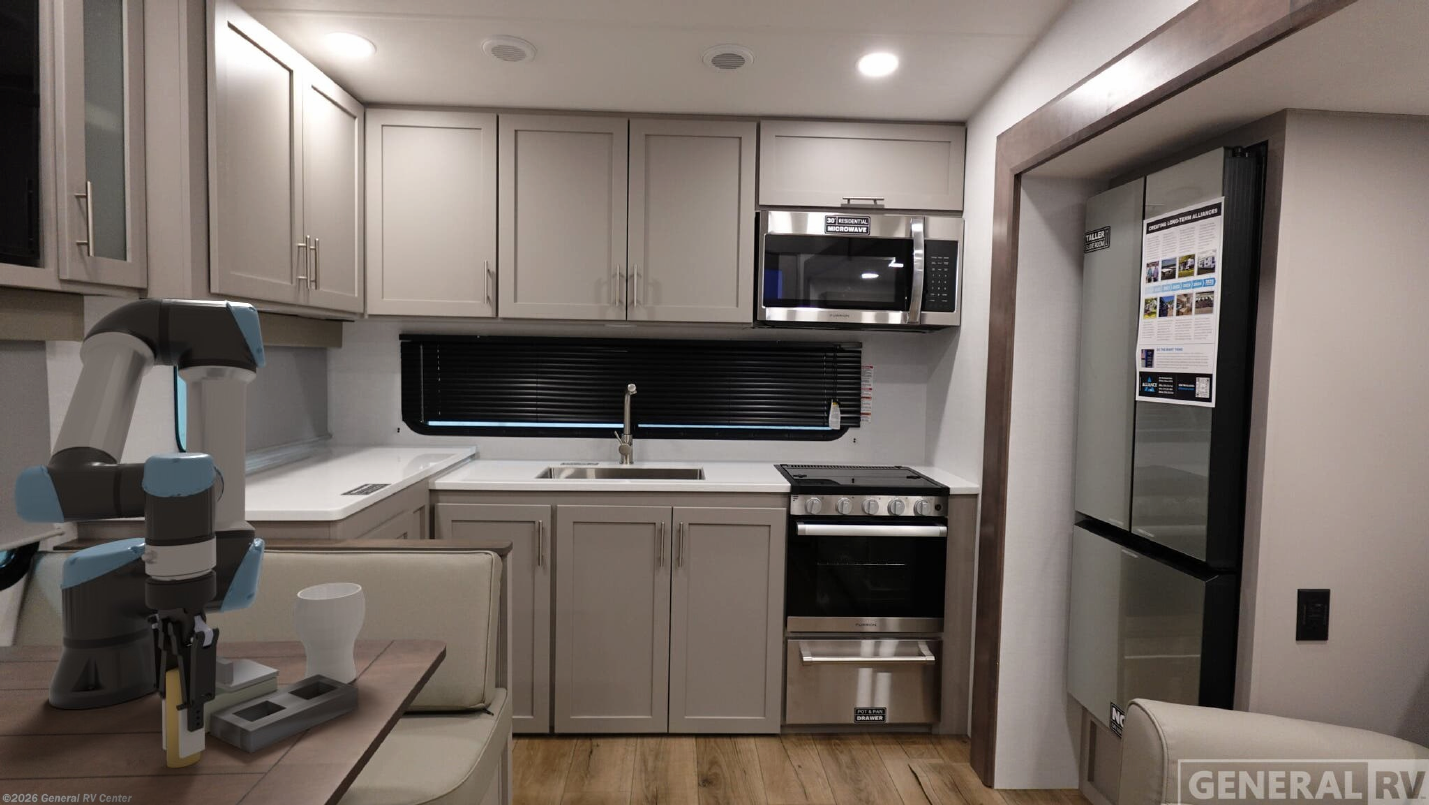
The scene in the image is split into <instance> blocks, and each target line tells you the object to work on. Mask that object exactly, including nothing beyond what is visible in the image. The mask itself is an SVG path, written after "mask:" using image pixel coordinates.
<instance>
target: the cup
mask: <svg viewBox="0 0 1429 805" xmlns="http://www.w3.org/2000/svg"><path fill="white" fill-rule="evenodd" d="M363 592H364V591H363V588H362V586H361V585H359V584H357V583H352V582H351V583H350V582H332V583H331V582H330V583H323V584H318V585H312V586H310V587H306V588H304V589H302V590H299V592H297V595H296V599H295V602H294V607H293V612H292V615H293V619H292V620H293V622H292V623H293V625H294V629H295V632H296V635H297V637H298V638H299V640H300V641H301V643H302V645H303V646H304V649H305V656H306V657H305V658H306V668H305V673H304V679H307V678H310V677H312V676H315V675H318V674H319V675H322V676H325V677H328V678H331V679H333V680H336V681H339V682H342V683H345V684H349V683H351V682H352V681H354V680H355V679H356V678H357V672H356V665H355V660H354V655H353V654H354V648H355V641H356V639H357V637H358V635H359V633H360V632H361V629H362V626H363V623H364V620H365V617H366V600H365V595H364V593H363Z"/></svg>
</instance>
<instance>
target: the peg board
mask: <svg viewBox="0 0 1429 805" xmlns="http://www.w3.org/2000/svg"><path fill="white" fill-rule="evenodd" d="M358 708H359V688H358V687H356V686H353V685H351V684H349V683H347V684H345V683H342V682H339V681H336V680H333V679H331V678H328V677H325V676H322V675H319V674H318V675H315V676H312V677H310V678H307V679H305V678H304V679H301V680H299V681H295V682H294V683H290V684H288V685H285V686H282V687H280V688H277V689H276V690H274V691H271V692H268V693H265V694H263V695H260V696H257V697H254V698H252V699H249V700H246V701H243V702H241V703H238V704H235V705H232V706H230V707H227V708H224V709H221V710H219V711H216V712H213V713H210V735H211V736H213V737H215V738H217V739H219V740H222V741H224V742H226V743H229V744H231V745H233V746H235V747H236V748H238V749H241V750H243V751H245V752H247V753H250V754H252V753H254V752H257V751H259V750H262V749H264V748H266V747H268V746H271V745H273V744H276V743H277V742H280V741H283V740H285V739H287V738H289V737H292V736H294V735H296V734H299V733H301V732H303V731H306V730H308V729H309V730H310V729H311V728H313V727H316V726H318V725H320V724H322V723H324V722H327V721H330V720H332V719H335V718H337V717H340V716H341V715H344V714H347V713H348V712H351V711H354V710H356V709H358Z"/></svg>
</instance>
